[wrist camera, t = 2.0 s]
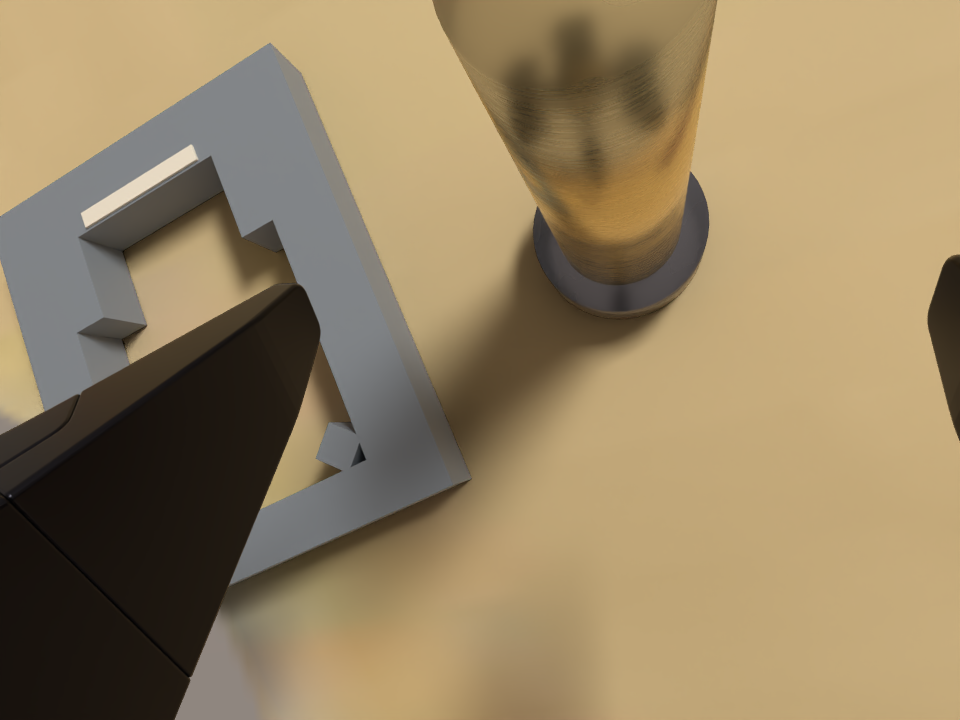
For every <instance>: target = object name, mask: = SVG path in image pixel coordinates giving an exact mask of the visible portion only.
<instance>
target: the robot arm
mask: <svg viewBox="0 0 960 720" xmlns="http://www.w3.org/2000/svg"><path fill="white" fill-rule="evenodd" d="M928 329H929V333H930V337H931V341H932V345H933V349H934V353H935V356H936V360H937V364H938V368H939V372H940V376H941V380H942V384H943V388H944V392H945V396H946V400H947V404H948V408H949V411H950V415H951V418H952V422H953V425H954V428H955V430H956V433H957V436H958V438H959V441H960V255H953V256H951V257H950V258H948V259H947V260H946V262H945V263H944V265H943V267H942V270H941V273H940V276H939V279H938V282H937V285H936V288H935V291H934V294H933V297H932V301H931V304H930V307H929V310H928ZM320 336H321V329H320V324H319V321H318V319H317V316H316V314H315V312H314V309H313V307H312V304H311V302H310V300H309V297H308V295H307V292H306V290H305V289H304V288H303V286H301V285H300V284H298V283H287V284H276V285H273V286H271V287H270V288H268V289H266V290H264V291H262V292H261V293H259V294H257V295H255V296H253V297H251V298H250V299H248V300H246V301H244V302H242V303H241V304H239V305H237V306H235V307H233V308H232V309H230V310H228V311H226V312H224V313H223V314H221V315H219V316H217V317H215V318H213V319H212V320H210V321H208V322H206V323H204V324H203V325H201V326H199V327H197V328H195V329H194V330H192V331H190V332H188V333H186V334H185V335H183V336H181V337H179V338H177V339H175V340H174V341H172V342H170V343H168V344H166V345H165V346H163V347H161V348H159V349H157V350H156V351H154V352H152V353H150V354H148V355H147V356H145V357H143V358H141V359H139V360H137V361H136V362H134V363H132V364H130V365H128V366H127V367H125V368H123V369H121V370H119V371H118V372H116V373H114V374H112V375H110V376H109V377H107V378H105V379H103V380H101V381H99V382H98V383H96V384H94V385H92V386H90V387H89V388H87V389H85V390H83V391H82V392H81V394H76V395H74V396H72V397H70V398H68V399H67V400H65V401H63V402H61V403H59V404H58V405H56V406H54V407H52V408H50V409H48V410H47V411H45V412H43V413H41V414H39V415H37V416H35V417H34V418H32V419H30V420H28V421H26V422H24V423H22V424H20V425H19V426H17V427H15V428H13V429H11V430H9V431H7V432H5V433H3V434H1V435H0V720H175V717H176V714H177V712H178V709H179V707H180V705H181V702H182V700H183V698H184V695H185V692H186V690H187V688H188V685H189V683H190V678H189V677H191V676H192V675H193V672H194V670H195V667H196V665H197V662H198V660H199V657H200V655H201V653H202V650H203V648H204V645H205V643H206V640H207V638H208V635H209V633H210V631H211V628H212V626H213V623H214V621H215V618H216V616H217V613H218V611H219V609H220V606H221V604H222V601H223V599H224V596H225V594H226V591H227V589H228V587H229V584H230V582H231V579H232V577H233V574H234V572H235V569H236V567H237V565H238V562H239V560H240V557H241V555H242V552H243V550H244V547H245V545H246V543H247V540H248V538H249V535H250V533H251V530H252V528H253V525H254V523H255V521H256V518H257V516H258V513H259V511H260V508H261V506H262V503H263V501H264V498H265V496H266V494H267V491H268V489H269V486H270V484H271V481H272V479H273V476H274V474H275V472H276V469H277V467H278V464H279V462H280V459H281V457H282V454H283V452H284V450H285V447H286V445H287V442H288V440H289V437H290V435H291V432H292V430H293V428H294V425H295V422H296V420H297V417H298V414H299V411H300V408H301V405H302V402H303V398H304V394H305V391H306V387H307V384H308V380H309V377H310V373H311V370H312V366H313V363H314V359H315V355H316V352H317V348H318V345H319V341H320Z"/></svg>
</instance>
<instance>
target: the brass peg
mask: <svg viewBox="0 0 960 720" xmlns="http://www.w3.org/2000/svg"><path fill="white" fill-rule="evenodd" d="M433 4H434V7H435V11H436V14H437V17H438V19H439V21H440V23H441V26H442V28H443V30H444V32H445V34H446V35H447V37H448V39H449V41H450V43H451V45H452V47H453V49H454V50H455V52H456V54H457V56H458V58H459V60H460V62H461V64H462V65H463V67H464V69H465V71H466V73H467V75H468V77H469V78H470V80H471V82H472V84H473V86H474V88H475V90H476V92H477V93H478V95H479V97H480V99H481V101H482V103H483V105H484V106H485V108H486V110H487V112H488V114H489V116H490V118H491V120H492V121H493V123H494V125H495V127H496V129H497V131H498V133H499V134H500V136H501V138H502V140H503V142H504V144H505V146H506V148H507V149H508V151H509V153H510V155H511V157H512V159H513V161H514V163H515V164H516V166H517V168H518V170H519V172H520V174H521V176H522V177H523V179H524V181H525V183H526V185H527V187H528V189H529V191H530V192H531V194H532V196H533V198H534V200H535V202H536V204H537V205H538V206H537V210H536V214H535V218H534V226H533V239H534V245H535V250H536V254H537V257H538V260H539V262H540V265H541V267H542V269H543V271H544V272H545V274H546V275H547V277H548V279H549V280H550V281H551V283H552V284H553V285H554V287H555V288H556V289H557V290H558V292H559V293H560V294H561V295H562V296H563V297H564V298H565V299H566V300H567V301H568V302H570V303H571V304H573V305H574V306H575V307H577V308H579V309H581V310H583V311H584V312H586V313H589V314H592V315H595V316H599V317H603V318H610V319H629V318H634V317H640V316H643V315H646V314H649V313H652V312H654V311H656V310H658V309H660V308H662V307H664V306H665V305H667V304H668V303H670V302H671V301H672V300H674V299H675V298H676V297H677V296H678V295H679V294H680V293H681V292H682V291H683V290H684V289H685V288H686V287H687V285H688V284H689V283H690V281H691V280H692V278H693V277H694V275H695V273H696V271H697V269H698V267H699V264H700V262H701V259H702V256H703V253H704V249H705V246H706V242H707V238H708V231H709V212H708V207H707V202H706V199H705V196H704V193H703V191H702V189H701V187H700V185H699V183H698V181H697V180H696V178H695V177H694V175H693V174H692V172H691V171H690V169H691V162H692V156H693V150H694V144H695V137H696V131H697V125H698V118H699V112H700V106H701V99H702V93H703V87H704V80H705V74H706V68H707V62H708V55H709V49H710V43H711V36H712V30H713V24H714V17H715V11H716V5H717V0H433Z"/></svg>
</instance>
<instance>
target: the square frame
mask: <svg viewBox="0 0 960 720" xmlns="http://www.w3.org/2000/svg"><path fill="white" fill-rule="evenodd" d="M223 190H224V191H225V194H226V197H227V199H228V202H229V205H230V207H231V210H232V213H233V215H234V218H235V220H236V223H237V226H238V228H239V231H240V234H241V236H242V238H244V239H246V240H249V241H251V242H253V243H256V244H258V245H260V246H262V247H265V248H267V249H269V250H271V251H274V252H278V251H279V250H281V249H283V248H284V250H285V253H286V255H287V258H288V260H289V263H290V265H291V268H292V271H293V273H294V276H295V278H296V281H297V283H298V284H300V285H301V286H303V288H304V289H305V290H306V292H307V295H308V297H309V300H310V302H311V304H312V307H313V309H314V312H315V314H316V316H317V319H318V321H319V324H320V329H321V336H320V342H321V345H322V348H323V350H324V353H325V355H326V358H327V360H328V363H329V365H330V368H331V371H332V373H333V376H334V378H335V381H336V383H337V386H338V389H339V391H340V394H341V396H342V399H343V401H344V404H345V407H346V409H347V412H348V414H349V417H350V419H351V422H329V423H328V426H327V429H326V431H325V434H324V437H323V440H322V442H321V445H320V448H319V451H318V453H317V456H316V459H318V460H320V461H322V462H324V463H326V464H329V465H331V466H333V467H335V468H338V469H340V470H342V472H339V473H337V474H335V475H333V476H331V477H329V478H327V479H325V480H322V481H320V482H318V483H316V484H314V485H312V486H310V487H308V488H305V489H303V490H301V491H299V492H297V493H295V494H293V495H291V496H288V497H286V498H284V499H282V500H280V501H278V502H276V503H273V504H271V505H269V506H267V507H265V508H263V509H261V510H260V511H259V513H258V516H257V518H256V521H255V523H254V525H253V528H252V530H251V533H250V535H249V538H248V540H247V543H246V545H245V547H244V550H243V552H242V555H241V557H240V560H239V562H238V565H237V567H236V569H235V572H234V574H233V577H232V579H231V582H230V584H229V587H230V586H232V585H234V584H236V583H239V582H241V581H243V580H245V579H248V578H250V577H252V576H254V575H257V574H259V573H261V572H263V571H266V570H268V569H270V568H272V567H275V566H277V565H279V564H281V563H284V562H286V561H288V560H290V559H293V558H295V557H297V556H299V555H302V554H304V553H306V552H308V551H311V550H313V549H315V548H317V547H319V546H322V545H324V544H326V543H328V542H331V541H333V540H335V539H337V538H340V537H342V536H344V535H346V534H349V533H351V532H353V531H355V530H358V529H360V528H362V527H364V526H367V525H369V524H371V523H373V522H376V521H378V520H380V519H382V518H385V517H387V516H389V515H391V514H394V513H396V512H398V511H400V510H402V509H405V508H407V507H409V506H411V505H414V504H416V503H418V502H420V501H423V500H425V499H427V498H429V497H432V496H434V495H436V494H438V493H441V492H443V491H445V490H447V489H450V488H452V487H454V486H456V485H459V484H461V483H463V482H465V481H468V480H470V479H472V478H471V476H470V473H469V471H468V468H467V466H466V464H465V461H464V459H463V457H462V454H461V452H460V449H459V447H458V445H457V442H456V440H455V438H454V435H453V433H452V430H451V428H450V426H449V423H448V421H447V419H446V416H445V414H444V411H443V409H442V407H441V404H440V402H439V400H438V397H437V395H436V392H435V390H434V388H433V385H432V383H431V380H430V378H429V376H428V373H427V371H426V369H425V366H424V364H423V361H422V359H421V357H420V354H419V352H418V350H417V347H416V345H415V342H414V340H413V338H412V335H411V333H410V331H409V328H408V326H407V323H406V321H405V319H404V316H403V314H402V312H401V309H400V307H399V304H398V302H397V300H396V297H395V295H394V293H393V290H392V288H391V285H390V283H389V281H388V278H387V276H386V274H385V271H384V269H383V266H382V264H381V262H380V259H379V257H378V254H377V252H376V250H375V247H374V245H373V243H372V240H371V238H370V235H369V233H368V231H367V228H366V226H365V224H364V221H363V219H362V216H361V214H360V212H359V209H358V207H357V205H356V202H355V200H354V197H353V195H352V193H351V190H350V188H349V186H348V183H347V181H346V178H345V176H344V174H343V171H342V169H341V167H340V164H339V162H338V159H337V157H336V155H335V152H334V150H333V148H332V145H331V143H330V140H329V138H328V136H327V133H326V131H325V129H324V126H323V124H322V121H321V119H320V117H319V114H318V112H317V109H316V107H315V105H314V102H313V100H312V98H311V95H310V93H309V90H308V88H307V86H306V83H305V81H304V79H303V76H302V74H301V72H299V71H298V70H297V69H296V68H295V67H294V66H293V65H292V64H291V63H290V62H289V61H288V60H287V59H286V58H285V57H284V56H283V55H282V54H281V53H280V52H279V51H278V50H277V49H276V48H275V47H274V46H273V45H272V44H271V43H269V44H267V45H266V46H264V47H263V48H261V49H260V50H258V51H256V52H255V53H253V54H252V55H250V56H249V57H247V58H246V59H244V60H242V61H241V62H239V63H238V64H236V65H235V66H233V67H232V68H230V69H228V70H227V71H225V72H224V73H222V74H221V75H219V76H218V77H216V78H214V79H213V80H211V81H210V82H208V83H207V84H205V85H204V86H202V87H201V88H199V89H197V90H196V91H194V92H193V93H191V94H190V95H188V96H187V97H185V98H183V99H182V100H180V101H179V102H177V103H176V104H174V105H173V106H171V107H169V108H168V109H166V110H165V111H163V112H162V113H160V114H159V115H157V116H155V117H154V118H152V119H151V120H149V121H148V122H146V123H145V124H143V125H142V126H140V127H138V128H137V129H135V130H134V131H132V132H131V133H129V134H128V135H126V136H124V137H123V138H121V139H120V140H118V141H117V142H115V143H114V144H112V145H110V146H109V147H107V148H106V149H104V150H103V151H101V152H100V153H98V154H97V155H95V156H93V157H92V158H90V159H89V160H87V161H86V162H84V163H83V164H81V165H79V166H78V167H76V168H75V169H73V170H72V171H70V172H69V173H67V174H65V175H64V176H62V177H61V178H59V179H58V180H56V181H55V182H53V183H51V184H50V185H48V186H47V187H45V188H44V189H42V190H41V191H39V192H38V193H36V194H34V195H33V196H31V197H30V198H28V199H27V200H25V201H24V202H22V203H20V204H19V205H17V206H16V207H14V208H13V209H11V210H10V211H8V212H6V213H5V214H3V215H2V216H0V260H1V264H2V267H3V271H4V274H5V277H6V281H7V284H8V288H9V291H10V294H11V298H12V301H13V305H14V308H15V311H16V315H17V318H18V322H19V325H20V329H21V332H22V335H23V339H24V342H25V346H26V349H27V352H28V356H29V359H30V363H31V366H32V369H33V373H34V376H35V380H36V383H37V386H38V390H39V393H40V397H41V400H42V403H43V407H44V410H45V411H47V410H48V409H50V408H52V407H54V406H56V405H58V404H59V403H61V402H63V401H65V400H67V399H68V398H70V397H72V396H74V395H76V394H81V392H82V391H83V390H85V389H87V388H89V387H90V386H92V385H94V384H96V383H98V382H99V381H101V380H103V379H105V378H107V377H109V376H110V375H112V374H114V373H116V372H118V371H119V370H121V369H123V368H125V367H127V366H128V365H130V363H129V360H128V357H127V354H126V351H125V348H124V345H123V342H122V339H123V338H125V337H127V336H129V335H130V334H132V333H134V332H136V331H137V330H139V329H141V328H143V327H145V326H146V325H147V324H146V321H145V318H144V315H143V312H142V309H141V306H140V303H139V300H138V297H137V294H136V291H135V288H134V285H133V282H132V279H131V276H130V273H129V270H128V267H127V264H126V261H125V258H124V255H123V252H122V251H123V250H125V249H127V248H128V247H130V246H132V245H133V244H135V243H137V242H138V241H140V240H142V239H143V238H145V237H147V236H148V235H150V234H152V233H153V232H155V231H157V230H158V229H160V228H162V227H163V226H165V225H167V224H168V223H170V222H172V221H173V220H175V219H177V218H178V217H180V216H182V215H183V214H185V213H187V212H188V211H190V210H192V209H193V208H195V207H197V206H198V205H200V204H202V203H203V202H205V201H207V200H208V199H210V198H212V197H213V196H215V195H217V194H218V193H220V192H222V191H223Z"/></svg>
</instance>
